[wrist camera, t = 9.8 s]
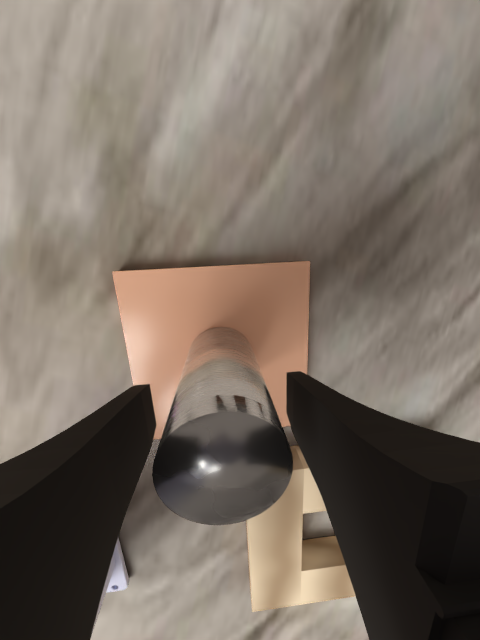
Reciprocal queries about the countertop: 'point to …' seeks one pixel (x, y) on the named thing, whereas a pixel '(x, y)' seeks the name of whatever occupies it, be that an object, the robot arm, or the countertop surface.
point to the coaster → (214, 322)
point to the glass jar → (222, 436)
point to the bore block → (294, 549)
